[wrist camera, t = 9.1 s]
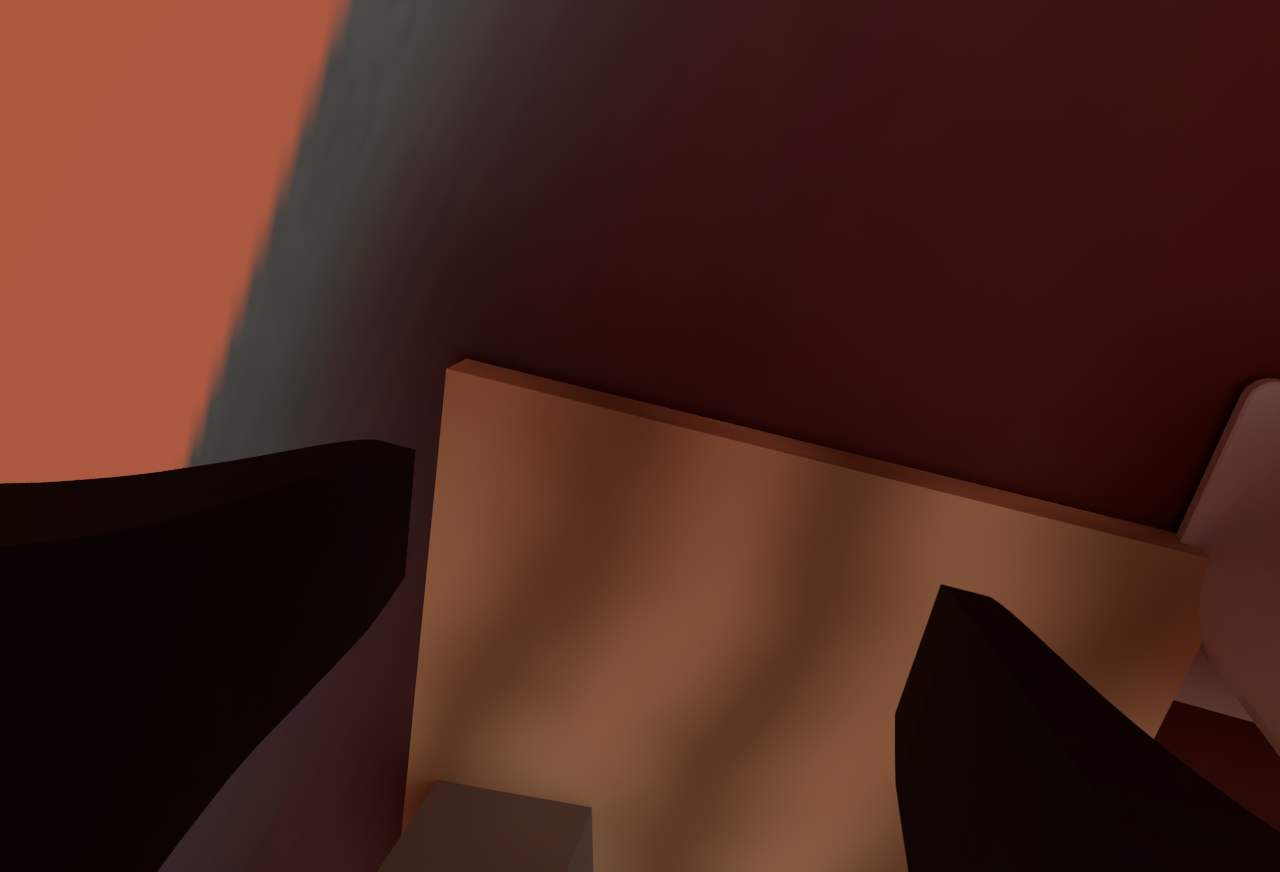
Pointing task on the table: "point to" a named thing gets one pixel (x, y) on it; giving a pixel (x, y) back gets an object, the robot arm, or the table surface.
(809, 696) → the shelf board
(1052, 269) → the table surface
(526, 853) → the slate carton
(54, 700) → the robot arm
